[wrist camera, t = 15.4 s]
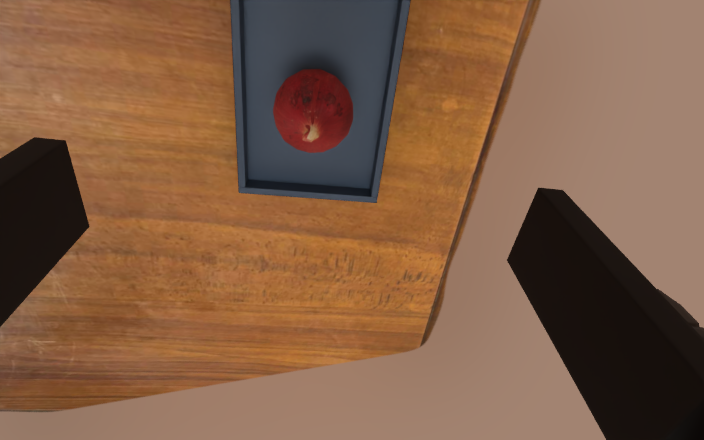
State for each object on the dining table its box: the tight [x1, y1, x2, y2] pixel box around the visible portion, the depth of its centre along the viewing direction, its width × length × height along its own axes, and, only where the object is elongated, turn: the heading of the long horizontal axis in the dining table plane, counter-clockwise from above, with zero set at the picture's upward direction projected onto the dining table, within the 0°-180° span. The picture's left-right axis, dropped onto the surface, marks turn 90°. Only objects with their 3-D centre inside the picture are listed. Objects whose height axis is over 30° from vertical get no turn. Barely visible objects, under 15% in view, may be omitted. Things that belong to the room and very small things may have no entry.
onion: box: [273, 69, 353, 153], centre depth 29 cm, size 6×6×8 cm
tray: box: [230, 0, 411, 203], centre depth 32 cm, size 17×12×2 cm
